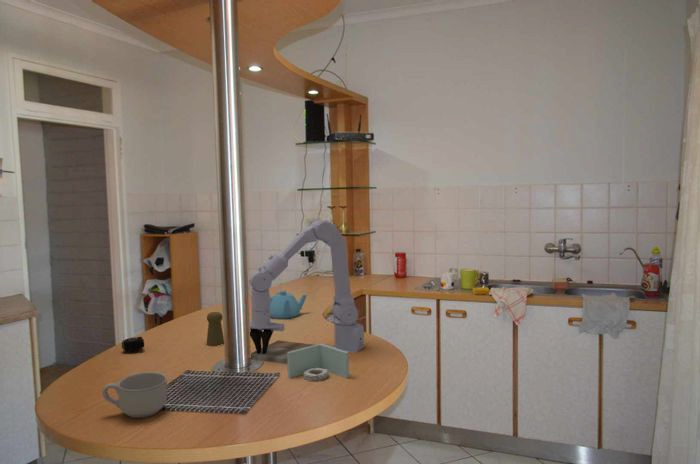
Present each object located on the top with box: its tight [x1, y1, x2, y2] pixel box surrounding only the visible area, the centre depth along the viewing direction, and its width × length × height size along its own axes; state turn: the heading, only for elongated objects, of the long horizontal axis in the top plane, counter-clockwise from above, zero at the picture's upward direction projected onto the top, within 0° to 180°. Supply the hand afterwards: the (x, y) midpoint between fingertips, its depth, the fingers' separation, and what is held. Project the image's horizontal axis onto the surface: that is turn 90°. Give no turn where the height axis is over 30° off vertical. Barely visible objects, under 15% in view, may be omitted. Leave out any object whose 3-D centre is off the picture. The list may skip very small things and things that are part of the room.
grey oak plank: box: [250, 346, 296, 365], centre depth 161 cm, size 18×10×2 cm, turn 66°
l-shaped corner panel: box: [286, 343, 350, 382], centre depth 142 cm, size 12×12×8 cm
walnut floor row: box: [268, 340, 314, 350], centre depth 169 cm, size 18×7×2 cm, turn 66°
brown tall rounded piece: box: [206, 311, 225, 347], centre depth 177 cm, size 6×6×11 cm
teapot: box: [270, 290, 307, 320], centre depth 220 cm, size 15×15×11 cm
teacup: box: [102, 371, 168, 419], centre depth 120 cm, size 14×11×8 cm
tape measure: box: [121, 336, 145, 353], centre depth 170 cm, size 7×7×4 cm
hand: (262, 352), depth 161 cm, fingers closed, pressing on grey oak plank
